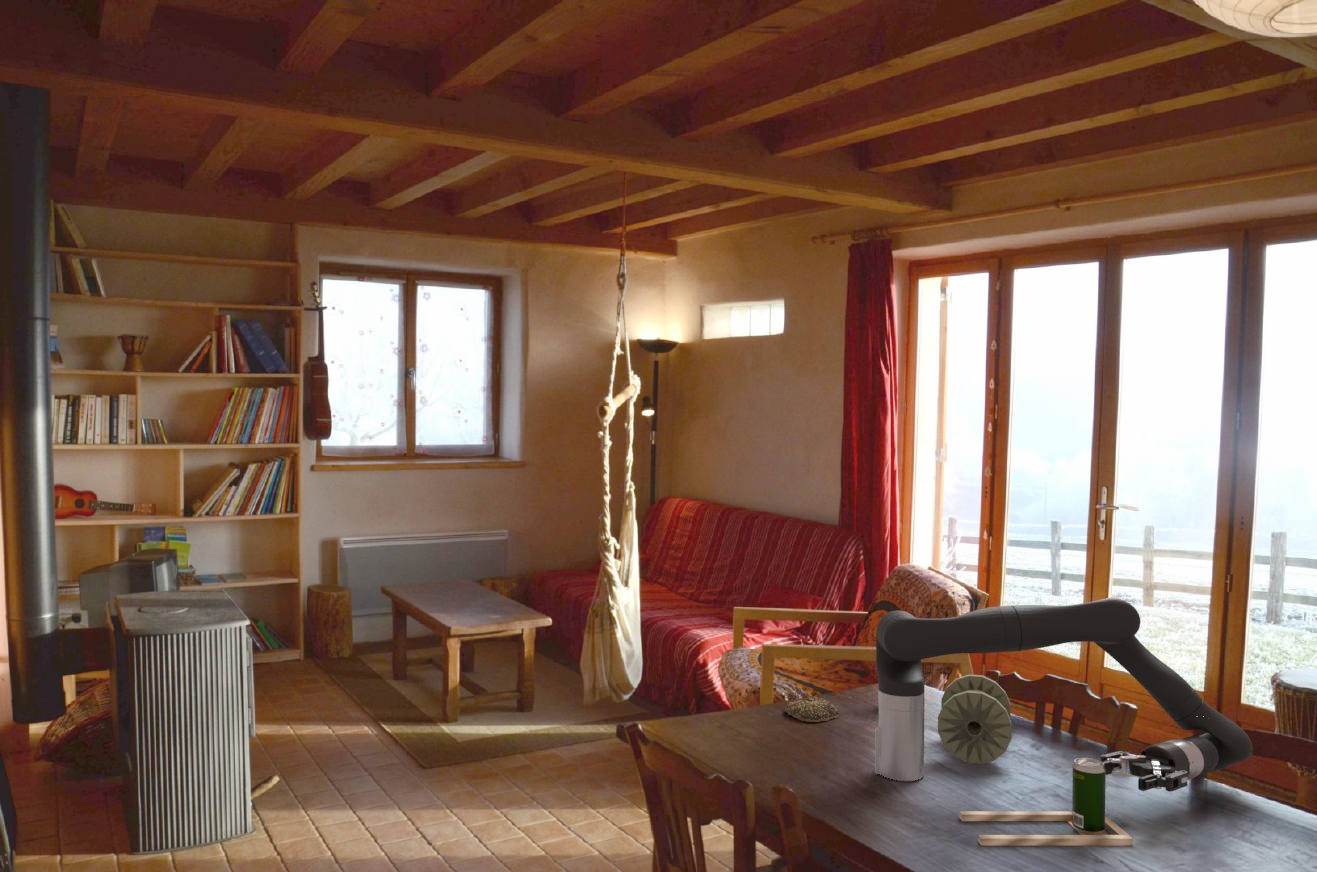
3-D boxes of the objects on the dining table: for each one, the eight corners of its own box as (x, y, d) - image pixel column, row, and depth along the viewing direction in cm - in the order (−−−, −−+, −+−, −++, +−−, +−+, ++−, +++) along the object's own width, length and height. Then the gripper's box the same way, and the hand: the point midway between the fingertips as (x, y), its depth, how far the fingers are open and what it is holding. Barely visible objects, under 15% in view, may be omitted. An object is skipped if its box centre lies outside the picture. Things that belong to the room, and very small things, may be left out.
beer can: (1093, 838, 172) (1094, 769, 172) (1065, 828, 177) (1066, 760, 177) (1111, 831, 175) (1112, 763, 175) (1083, 821, 180) (1084, 755, 180)
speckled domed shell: (804, 726, 239) (804, 705, 239) (777, 712, 250) (777, 692, 250) (848, 720, 244) (849, 699, 244) (821, 707, 255) (821, 687, 255)
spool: (1011, 767, 210) (1011, 696, 210) (937, 759, 214) (938, 689, 214) (1010, 743, 225) (1010, 677, 225) (941, 736, 230) (941, 672, 230)
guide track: (981, 845, 170) (981, 838, 170) (959, 817, 182) (959, 811, 182) (1132, 845, 170) (1132, 838, 170) (1100, 817, 182) (1101, 811, 182)
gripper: (1137, 732, 194) (1083, 746, 186) (1209, 752, 182) (1155, 768, 174) (1137, 770, 194) (1083, 786, 186) (1209, 793, 182) (1155, 811, 174)
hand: (1118, 777), depth 180 cm, fingers open, 8 cm apart
